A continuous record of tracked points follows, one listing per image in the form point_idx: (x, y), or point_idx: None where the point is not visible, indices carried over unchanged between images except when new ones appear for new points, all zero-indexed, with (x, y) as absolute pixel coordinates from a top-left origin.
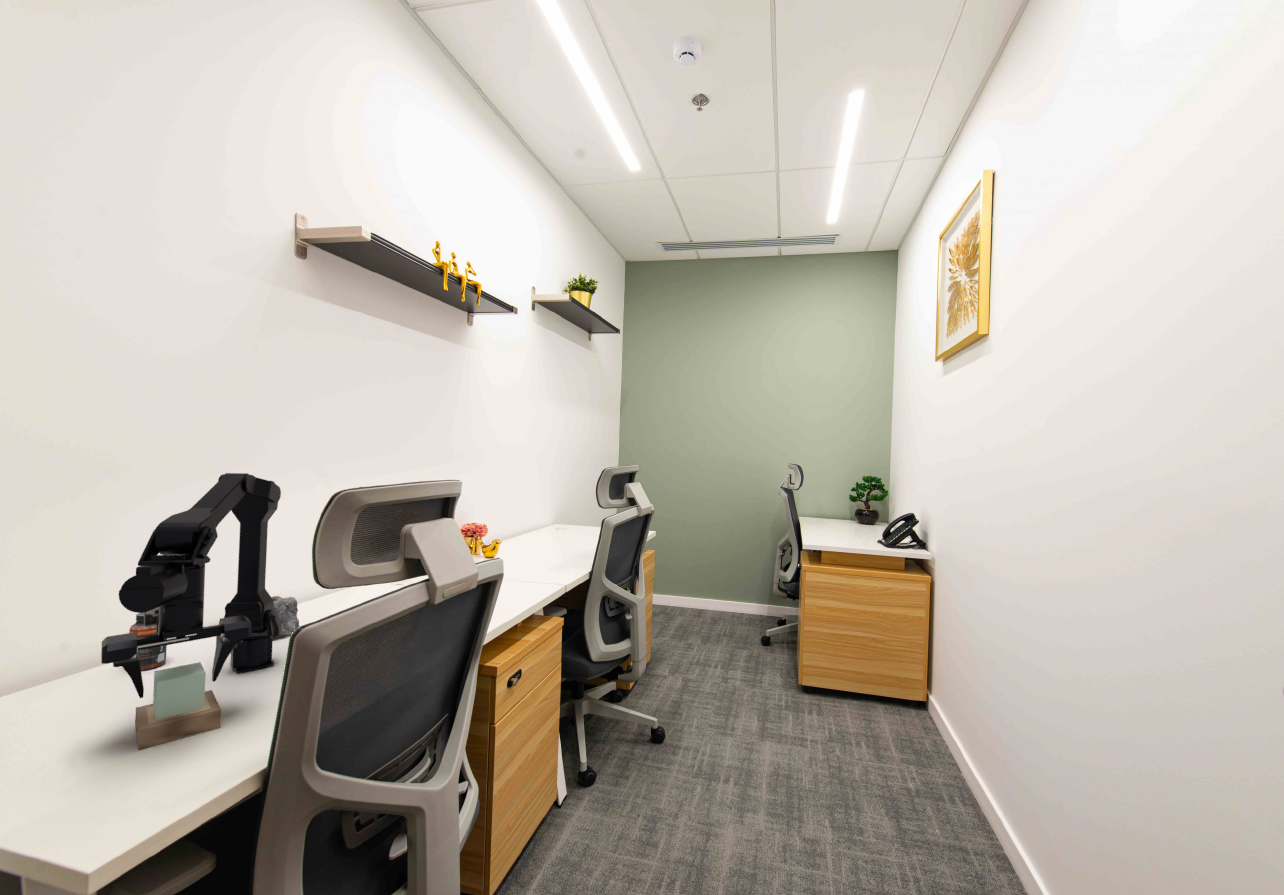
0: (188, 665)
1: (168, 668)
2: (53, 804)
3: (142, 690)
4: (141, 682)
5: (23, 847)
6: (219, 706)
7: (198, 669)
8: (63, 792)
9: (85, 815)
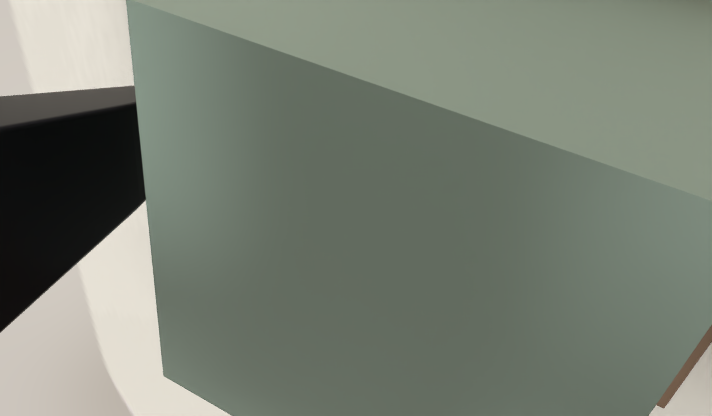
0: (526, 205)
1: (277, 49)
2: (138, 289)
3: (139, 200)
4: (62, 271)
5: (122, 389)
6: (693, 365)
7: None
8: (147, 251)
9: (196, 400)
